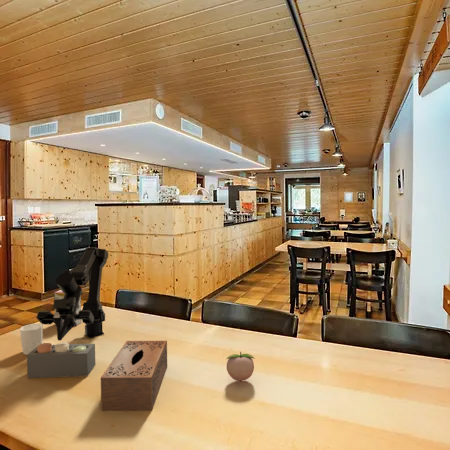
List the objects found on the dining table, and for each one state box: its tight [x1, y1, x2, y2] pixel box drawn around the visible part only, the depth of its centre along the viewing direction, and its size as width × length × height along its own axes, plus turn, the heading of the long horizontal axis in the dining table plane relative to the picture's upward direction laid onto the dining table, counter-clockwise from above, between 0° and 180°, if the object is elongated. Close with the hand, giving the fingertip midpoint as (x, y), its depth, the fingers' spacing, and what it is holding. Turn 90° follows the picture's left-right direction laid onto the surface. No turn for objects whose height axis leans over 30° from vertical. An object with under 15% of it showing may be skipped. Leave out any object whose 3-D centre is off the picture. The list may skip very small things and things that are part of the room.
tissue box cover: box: [100, 340, 168, 412], centre depth 109 cm, size 26×14×10 cm, turn 0°
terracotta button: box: [37, 342, 53, 353], centre depth 118 cm, size 4×4×4 cm
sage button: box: [73, 346, 86, 352], centre depth 119 cm, size 4×4×4 cm
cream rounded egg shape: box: [54, 341, 70, 352], centre depth 119 cm, size 4×4×4 cm
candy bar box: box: [53, 289, 82, 326], centre depth 165 cm, size 11×5×16 cm, turn 84°
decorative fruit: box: [226, 351, 255, 382], centre depth 111 cm, size 9×8×10 cm
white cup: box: [19, 323, 44, 356], centre depth 135 cm, size 8×8×10 cm
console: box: [26, 343, 96, 379], centre depth 119 cm, size 8×20×8 cm, turn 93°
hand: (59, 340), depth 118 cm, fingers closed
